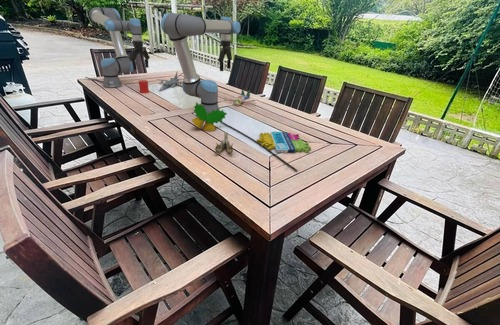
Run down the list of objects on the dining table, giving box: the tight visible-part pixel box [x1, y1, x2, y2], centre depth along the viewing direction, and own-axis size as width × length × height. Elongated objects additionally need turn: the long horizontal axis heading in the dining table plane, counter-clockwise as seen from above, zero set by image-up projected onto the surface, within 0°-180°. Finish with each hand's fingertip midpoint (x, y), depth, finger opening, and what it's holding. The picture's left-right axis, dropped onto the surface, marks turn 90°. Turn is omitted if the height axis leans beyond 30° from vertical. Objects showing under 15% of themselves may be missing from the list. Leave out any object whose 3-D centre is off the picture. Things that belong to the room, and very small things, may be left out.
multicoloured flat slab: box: [256, 131, 312, 154], centre depth 152 cm, size 26×2×30 cm
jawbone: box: [214, 131, 234, 156], centre depth 136 cm, size 9×15×10 cm
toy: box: [223, 89, 257, 106], centre depth 219 cm, size 28×7×30 cm
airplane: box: [156, 70, 184, 92], centre depth 249 cm, size 38×31×10 cm
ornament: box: [191, 102, 228, 132], centre depth 162 cm, size 21×8×15 cm, turn 105°
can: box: [138, 79, 150, 94], centre depth 226 cm, size 7×7×10 cm
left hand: (141, 68), depth 218 cm, fingers open, 13 cm apart
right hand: (225, 69), depth 207 cm, fingers open, 13 cm apart
